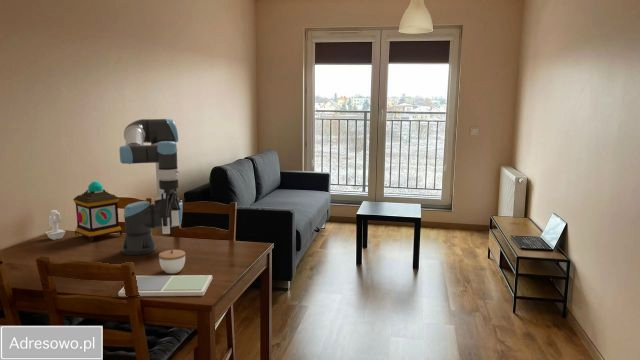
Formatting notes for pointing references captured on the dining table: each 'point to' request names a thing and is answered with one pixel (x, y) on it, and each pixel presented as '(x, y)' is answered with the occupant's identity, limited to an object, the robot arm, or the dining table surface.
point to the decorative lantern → (96, 212)
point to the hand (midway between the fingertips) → (170, 229)
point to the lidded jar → (172, 260)
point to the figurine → (55, 226)
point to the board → (171, 285)
